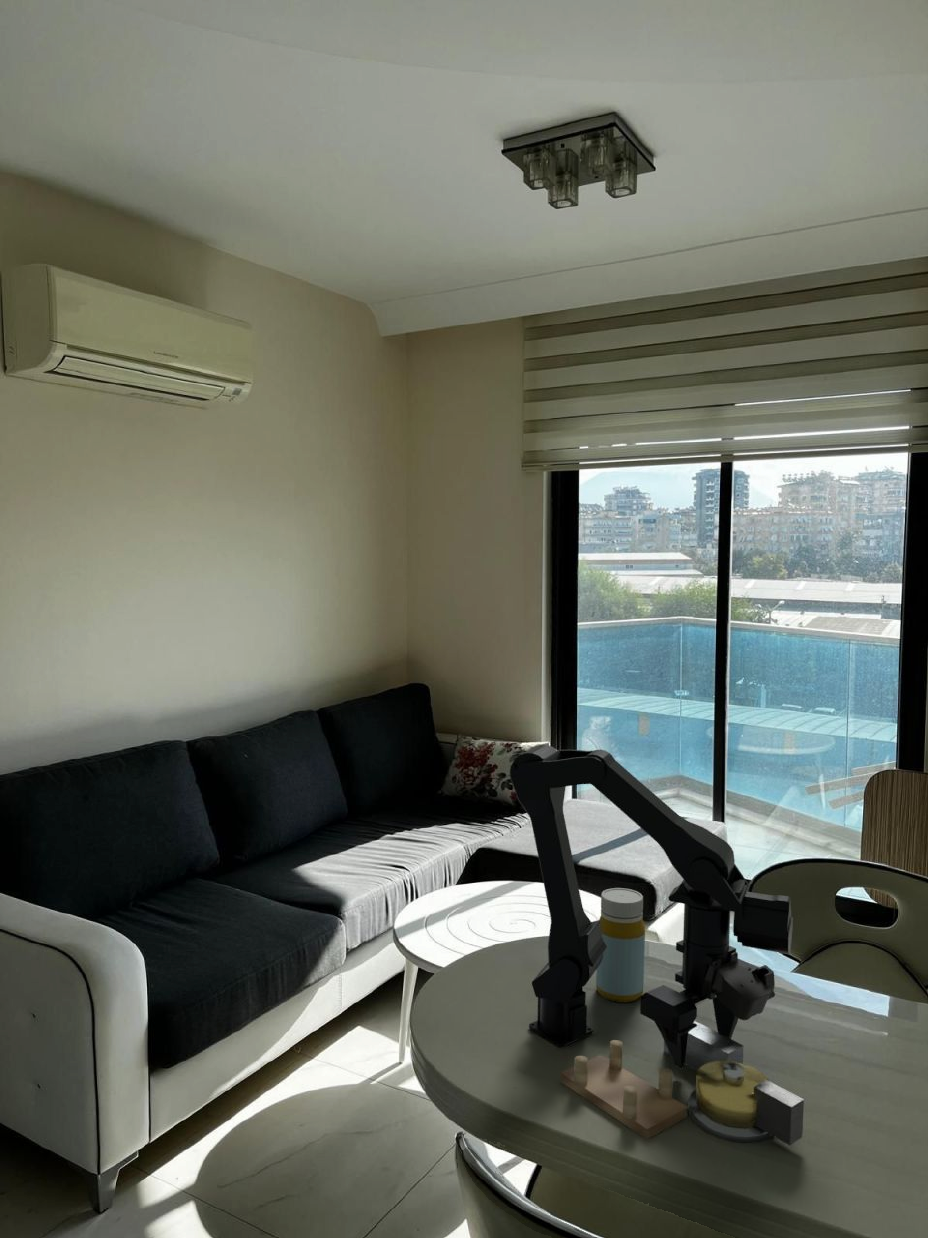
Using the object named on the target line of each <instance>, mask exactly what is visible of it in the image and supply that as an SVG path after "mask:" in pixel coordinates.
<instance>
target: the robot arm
mask: <svg viewBox="0 0 928 1238" xmlns="http://www.w3.org/2000/svg"><path fill="white" fill-rule="evenodd" d="M509 778H510V782H511V784H512V787H513V789H514V792H515V795H516V798H517V800H518V802H519V803H520V805H521V807H522V808H523V809H524V810H525V812H526V813H527V815H528V816H529V817H528V818H529V819H530V822H531V827H532V832H533V837H534V841H535V842H534V843H535V847H536V851H537V856H538V862H539V867H540V872H541V877H542V881H543V886H544V892H545V896H546V897H545V898H546V900H547V901H546V902H547V906H548V911H549V915H550V916H549V917H550V926H549V927H550V928H549V933H548V942H547V943H548V944H547V950H548V951H547V954H548V955H547V957H548V961H547V963H546V964H545V966H544V967H542V969H541V970H540V971H539V973H538V974H537V975H536V977H534V979H533V980H532V981H531V986H532V989H533V993H534V996H535V997H536V998H537V1016H536V1017H537V1020H534V1021H533V1022H530V1023H529V1024H528V1027H529V1029H530V1030H531V1031H533V1032H534V1033H535V1034H538V1035H539V1036H541V1037H543V1038H544V1039H546V1040H548V1041H549V1042H551V1043H552V1044H554V1045H555V1046H557V1047H558V1048H559V1047H560V1048H561V1047H564V1046H567V1045H569V1044H571V1043H573V1042H576V1041H578V1040H580V1039H582V1038H585V1037H587V1036H589V1035H591V1034H593V1033H594V1029H593V1028H592V1027H591V1026H589V1025H587V1022H588V1021H587V1019H588V1018H587V1017H588V1006H587V1004H586V1002H587V1001H586V999H587V992H586V991H584V990H583V988H584V987H585V986H586V985H587V983H588V982H589V981H590V979H591V978H592V976H593V975H594V974H595V973H596V970H597V968H598V966H599V965H600V964H601V962H602V959H603V952H604V951H605V949H606V948H607V946H606V944H605V943H604V941H603V938H602V930H601V921H600V920H599V919H598V920H593V921H591V920H590V918H589V917H588V915H587V914H586V912H585V910H584V907H583V903H582V897H581V891H580V888H579V883H578V878H577V877H578V876H577V874H576V870H575V863H574V859H573V853H572V849H571V848H572V847H571V844H570V839H569V834H568V829H567V824H566V819H565V814H564V804H565V803H564V801H565V795H566V794H565V793H566V788H567V787H572V786H579V785H592V787H594V788H595V789H596V790H597V791H599V793H601V794H602V795H603V796H604V797H605V798H607V800H609V801H610V802H611V803H613V805H614V806H615V807H616V808H618V809H619V810H620V811H621V812H622V813H623V814H624V815H626V816H627V817H628V818H629V819H630V820H632V822H634V824H636V826H638V827H639V828H641V830H643V831H644V833H646V834H647V835H648V836H649V837H650V838H652V840H654V841H655V842H656V843H657V844H658V846H659V847H660V848H661V849H662V850H663V852H664V853H665V855H666V857H667V859H668V860H669V862H670V864H671V866H672V867H673V869H675V871H676V872H677V873H678V874H679V876H680V877H681V878H682V882H680V884H679V885H677V886H675V887H674V888H673V889H672V891H671V892H670V894H669V896H668V897H667V899H668V901H669V902H673V903H677V904H678V903H679V904H683V905H684V906H683V931H682V932H683V934H682V935H683V936H682V937H683V938H682V940H679V941H676V943H675V950H676V952H679V953H682V966H681V967H682V968H681V970H680V971H678V972H675V973H674V981H675V982H677V983H679V984H681V985H682V988H683V990H681V991H677V990H675V989H673V988H671V987H669V986H667V985H664V984H662V985H661V986H658V987H656V988H654V989H653V988H652V989H651V990H649V991H647V992H643V993H642V995H641V996H640V997H639V998H640V999H639V1006H640V1007H639V1014H640V1015H642V1016H644V1017H646V1018H647V1019H649V1020H652V1021H653V1022H654V1023H655V1026H656V1027H657V1028H658V1030H659V1032H660V1034H661V1037H662V1038H663V1042H664V1041H665V1043H666V1045H667V1048H668V1050H669V1052H670V1055H671V1056H670V1055H669V1056H670V1057H671V1059H672V1061H673V1064H674V1065H675V1067H677V1068H679V1069H683V1068H684V1066H685V1064H684V1063H685V1057H686V1048H687V1039H688V1032H689V1031H691V1030H692V1029H694V1028H695V1027H696V1026H697V1024H695V1023H694V1021H696V1019H697V1016H698V1014H697V1013H698V1007H697V1006H698V1005H701V1004H703V1003H705V1002H707V1001H709V1000H710V1001H712V1003H713V1010H714V1011H713V1012H714V1017H715V1022H716V1029H717V1032H718V1033H720V1034H722V1035H724V1036H726V1037H728V1038H730V1039H732V1037H733V1034H734V1031H735V1029H736V1026H737V1023H738V1021H739V1020H742V1021H747V1020H750V1019H751V1018H752V1017H754V1016H756V1015H758V1014H759V1015H760V1014H762V1013H763V1012H764V1010H765V1007H766V1004H767V1002H768V1001H769V1000H771V999H773V998H775V996H776V993H775V991H774V990H775V985H776V983H775V971H774V970H772V969H771V968H770V967H768V965H766V964H763V965H762V966H758V965H754V964H752V963H750V962H748V961H745V960H743V959H740V958H739V954H738V952H737V948H736V947H734V946H731V945H730V934H731V932H730V931H731V930H730V929H731V926H730V925H731V913H732V912H733V925H732V927H733V928H732V931H733V937H736V941H737V943H739V944H741V946H743V947H747V948H751V949H758V950H763V951H769V952H774V953H779V954H786V955H790V954H791V948H792V947H791V946H792V941H793V939H792V936H793V927H794V925H793V923H794V917H792V907H791V900H792V898H791V897H790V896H789V895H782V894H781V895H780V894H778V895H772V894H766V893H764V894H763V893H758V892H753V891H749V889H750V884H749V882H748V881H747V880H746V878H745V877H744V875H743V873H742V872H741V871H740V869H739V868H738V866H737V865H736V863H735V861H736V860H735V854H734V850H733V848H732V846H731V845H730V844H729V843H728V842H727V841H725V840H724V839H723V838H721V837H719V835H716V834H715V833H713V832H712V831H710V830H709V829H707V828H705V827H704V826H701V825H698V824H695V823H693V822H691V821H688V820H687V819H685V818H684V817H681V815H679V814H678V813H677V812H676V811H674V810H673V809H672V807H670V806H669V805H667V803H665V802H664V801H663V800H662V799H660V797H658V796H657V795H656V794H655V793H654V792H653V791H652V790H650V789H649V787H647V786H645V784H643V783H642V782H641V781H640V780H638V779H637V777H635V776H634V775H633V774H632V773H631V772H629V771H628V770H627V769H626V768H625V767H624V766H622V765H621V764H620V763H619V762H618V761H616V759H615V758H614V757H613V754H611V753H610V752H608V751H607V750H605V749H601V748H599V749H595V750H582V749H555V748H554V746H552V745H551V746H550V745H547V744H539V745H536V746H534V747H532V748H530V749H528V750H527V751H524V752H522V753H521V754H519V755H518V756H517V757H515V758H514V759H513V761H512V763H511V765H510V768H509Z"/></svg>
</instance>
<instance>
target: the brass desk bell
mask: <svg viewBox="0 0 928 1238" xmlns="http://www.w3.org/2000/svg"><path fill="white" fill-rule="evenodd" d="M723 1078H724V1080H726V1081H727V1082H729V1083H733V1084H740V1083H742V1082H744V1068H743V1067H742V1066H741V1065H739V1064H737V1063H726V1064H724V1065H723ZM687 1110H688V1114H689V1116H690V1118H691V1120H692V1121H693V1123H694V1124H695V1125H697V1126H698V1127H699V1128H700V1129H701V1130H702V1131H704V1132H706V1133H708V1134H709V1135H712V1136H714V1137H716V1138H718V1139H722V1140H725V1141H729V1142H730V1141H731V1142H737V1143H755V1142H756V1143H757V1142H761V1141H764V1140H766V1139H768V1138H770V1137H771V1136H772V1135H771V1134H769V1133H767V1132H766V1131H764V1130H762V1129H761V1128H759V1127H757V1126H751V1127H736V1126H730V1125H726V1124H723V1123H720V1122H717V1121H715V1120H713V1119H711V1118H709V1117H708V1116H706V1115H705V1114H704V1113H703V1112H702V1111H701V1110H700V1109H699V1108H698V1106H697V1103H696V1088H695V1089H694V1090H693V1091H692V1092H690V1094H689V1098H688V1107H687Z"/></svg>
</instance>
